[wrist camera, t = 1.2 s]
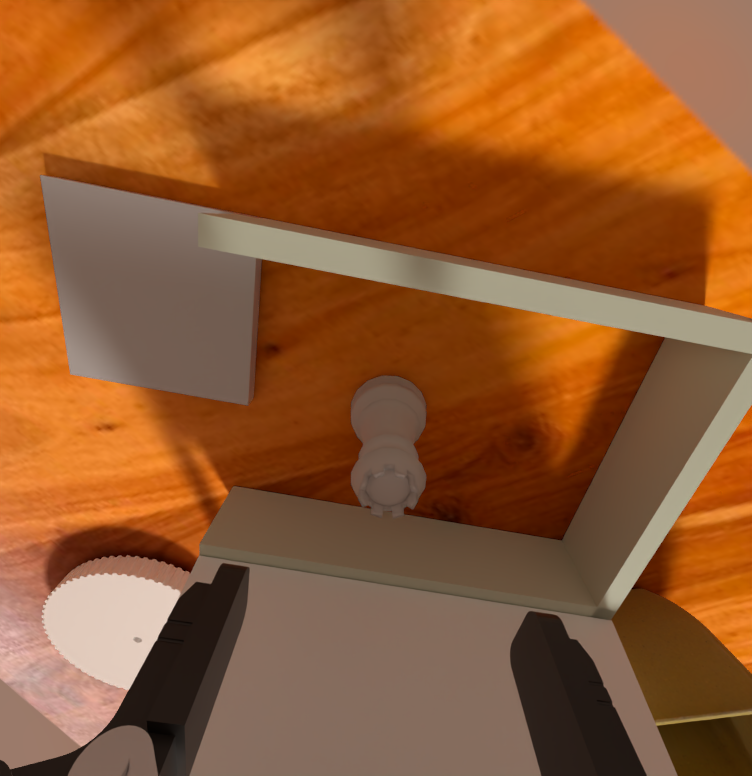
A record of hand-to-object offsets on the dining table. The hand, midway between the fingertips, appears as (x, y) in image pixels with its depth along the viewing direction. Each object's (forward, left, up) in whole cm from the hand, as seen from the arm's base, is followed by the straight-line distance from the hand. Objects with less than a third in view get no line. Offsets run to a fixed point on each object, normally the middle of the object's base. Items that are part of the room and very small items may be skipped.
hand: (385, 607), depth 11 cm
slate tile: (+13, -4, -13) cm, 19 cm away
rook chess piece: (0, 0, -13) cm, 13 cm away
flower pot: (-20, +14, -13) cm, 28 cm away
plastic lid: (+15, +22, -14) cm, 30 cm away
